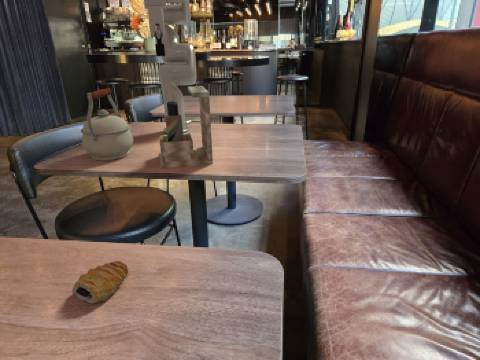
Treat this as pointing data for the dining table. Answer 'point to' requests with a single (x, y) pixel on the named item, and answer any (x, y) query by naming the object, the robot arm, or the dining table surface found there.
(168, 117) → the lotion bottle
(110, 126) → the kettle
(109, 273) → the pastry
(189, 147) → the bottle holder
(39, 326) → the dining table surface
